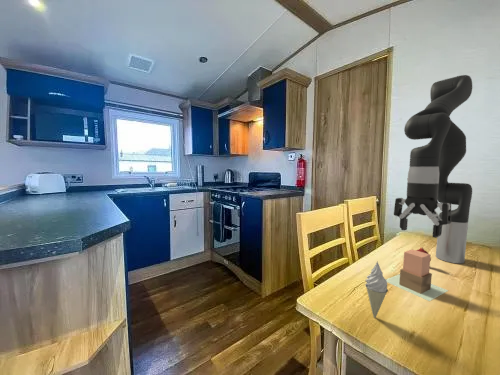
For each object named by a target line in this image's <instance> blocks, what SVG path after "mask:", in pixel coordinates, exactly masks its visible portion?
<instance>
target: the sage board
mask: <svg viewBox="0 0 500 375" xmlns="http://www.w3.org/2000/svg"><path fill="white" fill-rule="evenodd" d="M385 279H386V278H385ZM386 281H387V284H390V285H392V286H395V287H396V288H399V289H400V290H403V291H406V292H408V293H410V294H412V295H414V296H416V297H418V298H421V299H423V300H426V301H427V302H430V301H433V300H435V299H436V298H438V297H439V296H441V295H444V294H445V293H447V292H448V291H449V290H448V289H446V288H443V287H440V286H438V285H435V284H433V283H431V289H430V290H428V291H426V292H424V293H422V294H420V293H417V292H415V291H413V290H411V289H408V288H406V287H404V286H401V285H399V282H400V273H399V274H396V275H394V276H391V277H388V278H387V279H386Z"/></svg>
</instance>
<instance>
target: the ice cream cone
mask: <svg viewBox="0 0 500 375" xmlns="http://www.w3.org/2000/svg"><path fill="white" fill-rule="evenodd" d="M370 271H371V272H370V274H369V275H367V276H366V279H365V282H366V283H365V284H364V285H365V288H366V292H367V295H368V298H369V299H368V301H369V304H370V308H371V312H372V316H373V318H374V319H376V318H377V316H378V313H379V311H380V309H381V306H382V304H383V301H384V300H385V297H386V295H387V293H388V292H389V289H388V282H387V281H386V278H385V277H384V274H383V271H382V269H381V267H380V264H379V262H378V261H377V262H376V263H375V265H374V267H373V268H372V269H371V270H370Z"/></svg>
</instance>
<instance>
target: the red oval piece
mask: <svg viewBox="0 0 500 375" xmlns="http://www.w3.org/2000/svg"><path fill="white" fill-rule="evenodd" d="M415 250H416V251H420V252H423V253H427V254H429V252H428V251H427V250H425V249H424V247H423V246H420V248H418V249H415ZM431 260H432V257H431V256H430V262H431Z"/></svg>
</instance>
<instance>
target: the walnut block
mask: <svg viewBox="0 0 500 375" xmlns="http://www.w3.org/2000/svg"><path fill="white" fill-rule="evenodd" d="M399 274H400V282H399V285H401V286H404V287H406V288H408V289H411V290H413V291H415V292H417V293H420V294H422V293H424V292H426V291H428V290H430V289H431V284H432V279H433V278H432V276H433V273H431V272H429V274H426V275H424V276H422V277H420V276H417V275H415V274H412V273H409V272H407V271H404V270H403V268H402V269H400V270H399Z"/></svg>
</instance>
